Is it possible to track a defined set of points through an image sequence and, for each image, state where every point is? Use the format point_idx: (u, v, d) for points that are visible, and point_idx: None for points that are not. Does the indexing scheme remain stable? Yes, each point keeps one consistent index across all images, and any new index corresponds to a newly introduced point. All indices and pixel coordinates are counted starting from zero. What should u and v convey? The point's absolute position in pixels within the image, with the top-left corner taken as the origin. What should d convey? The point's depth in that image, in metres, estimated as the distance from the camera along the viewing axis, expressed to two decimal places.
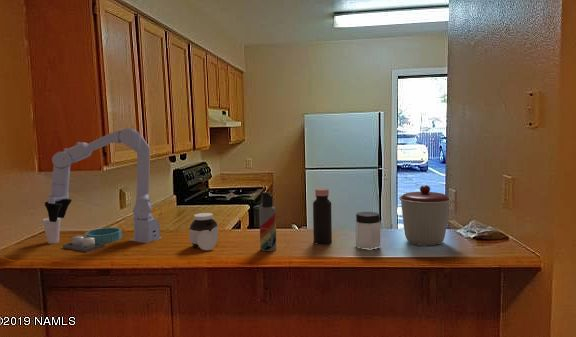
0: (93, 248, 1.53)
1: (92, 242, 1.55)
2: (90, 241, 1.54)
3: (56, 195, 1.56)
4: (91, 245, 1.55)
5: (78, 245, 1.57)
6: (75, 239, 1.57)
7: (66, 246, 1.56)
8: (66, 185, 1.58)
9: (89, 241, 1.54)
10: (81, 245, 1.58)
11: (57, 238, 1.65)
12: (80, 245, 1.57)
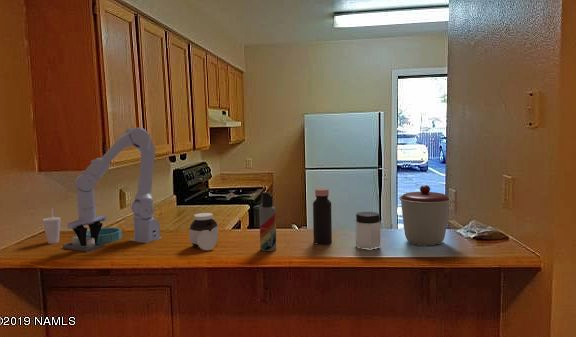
0: (93, 248, 1.53)
1: (92, 242, 1.55)
2: (90, 241, 1.54)
3: (80, 219, 1.52)
4: (91, 245, 1.55)
5: (78, 245, 1.57)
6: (75, 239, 1.57)
7: (66, 246, 1.56)
8: (88, 209, 1.52)
9: (89, 241, 1.54)
10: None
11: (57, 238, 1.65)
12: (80, 245, 1.57)
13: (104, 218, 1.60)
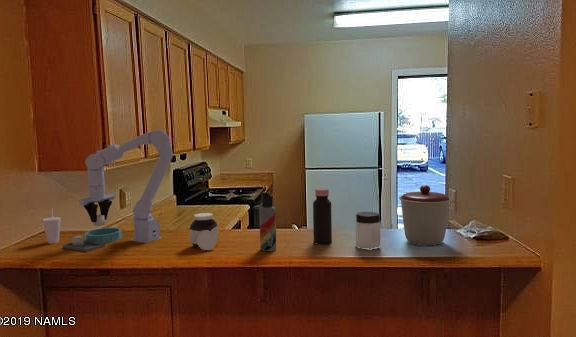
0: (93, 248, 1.53)
1: (102, 219, 1.62)
2: (100, 217, 1.61)
3: (91, 197, 1.60)
4: (101, 221, 1.62)
5: (78, 245, 1.57)
6: (75, 239, 1.57)
7: (66, 246, 1.56)
8: (98, 186, 1.60)
9: (99, 218, 1.61)
10: (81, 245, 1.58)
11: (57, 238, 1.65)
12: (80, 245, 1.57)
13: (113, 196, 1.68)
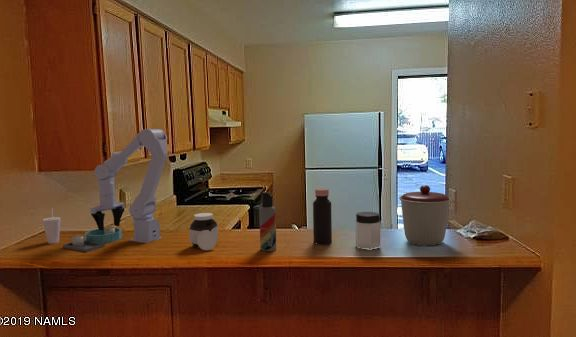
0: (93, 248, 1.53)
1: (112, 231, 1.70)
2: (110, 230, 1.69)
3: (101, 205, 1.67)
4: None
5: (78, 245, 1.57)
6: (75, 239, 1.57)
7: (66, 246, 1.56)
8: (109, 195, 1.67)
9: (110, 230, 1.69)
10: (81, 245, 1.58)
11: (57, 238, 1.65)
12: (80, 245, 1.57)
13: (122, 204, 1.75)
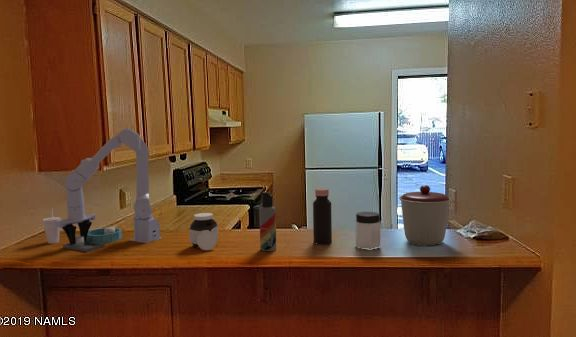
0: (93, 248, 1.53)
1: (113, 231, 1.70)
2: (111, 230, 1.69)
3: (69, 218, 1.55)
4: None
5: (78, 245, 1.57)
6: (75, 239, 1.57)
7: (66, 246, 1.56)
8: (77, 208, 1.55)
9: (110, 230, 1.69)
10: (81, 245, 1.58)
11: (57, 238, 1.65)
12: (80, 245, 1.57)
13: (93, 217, 1.63)
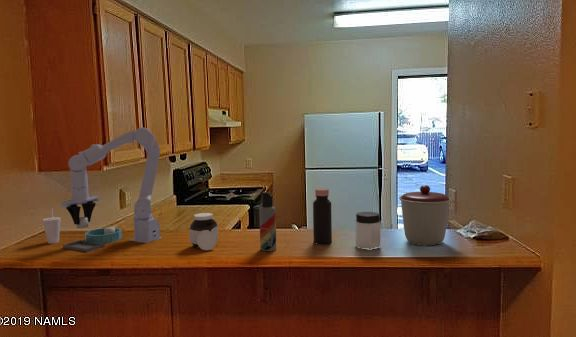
0: (93, 248, 1.53)
1: (113, 231, 1.70)
2: (111, 230, 1.69)
3: (73, 199, 1.56)
4: None
5: (82, 225, 1.58)
6: None
7: (66, 246, 1.56)
8: (81, 188, 1.56)
9: (110, 230, 1.69)
10: (85, 225, 1.59)
11: (57, 238, 1.65)
12: (84, 226, 1.59)
13: (97, 198, 1.64)
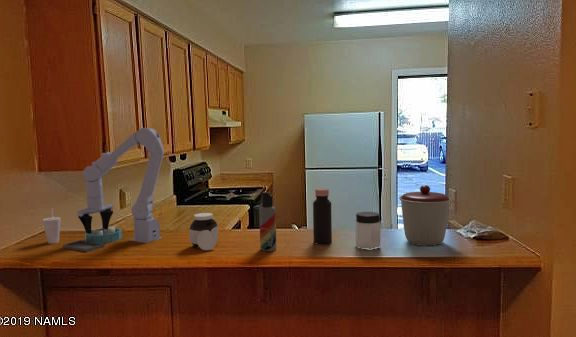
0: (93, 248, 1.53)
1: (113, 231, 1.70)
2: (111, 230, 1.69)
3: (89, 208, 1.62)
4: None
5: None
6: (95, 233, 1.64)
7: (66, 246, 1.56)
8: (96, 197, 1.62)
9: (110, 230, 1.69)
10: None
11: (57, 238, 1.65)
12: None
13: (111, 207, 1.70)
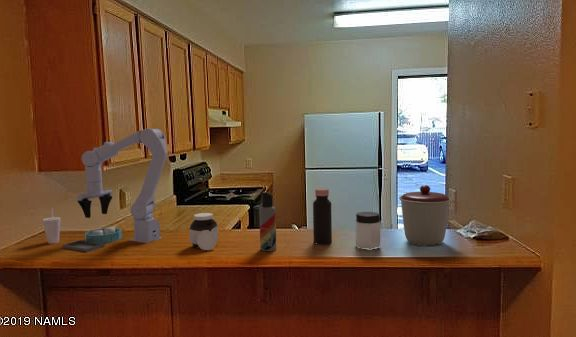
0: (93, 248, 1.53)
1: (113, 231, 1.70)
2: (111, 230, 1.69)
3: (88, 192, 1.64)
4: None
5: None
6: (95, 233, 1.64)
7: (66, 246, 1.56)
8: (96, 182, 1.64)
9: (110, 230, 1.69)
10: None
11: (57, 238, 1.65)
12: None
13: (110, 192, 1.72)
